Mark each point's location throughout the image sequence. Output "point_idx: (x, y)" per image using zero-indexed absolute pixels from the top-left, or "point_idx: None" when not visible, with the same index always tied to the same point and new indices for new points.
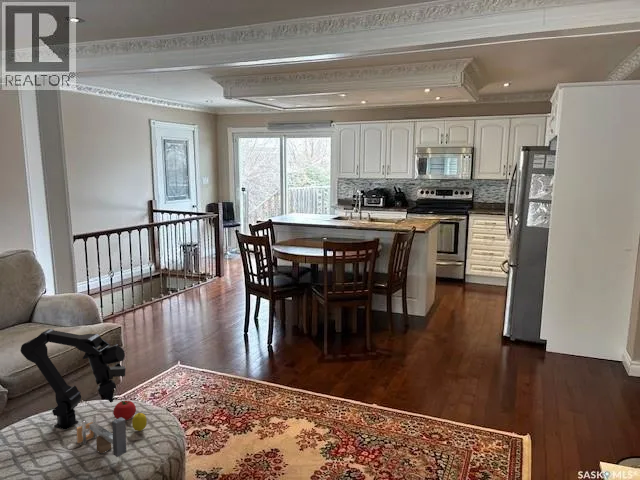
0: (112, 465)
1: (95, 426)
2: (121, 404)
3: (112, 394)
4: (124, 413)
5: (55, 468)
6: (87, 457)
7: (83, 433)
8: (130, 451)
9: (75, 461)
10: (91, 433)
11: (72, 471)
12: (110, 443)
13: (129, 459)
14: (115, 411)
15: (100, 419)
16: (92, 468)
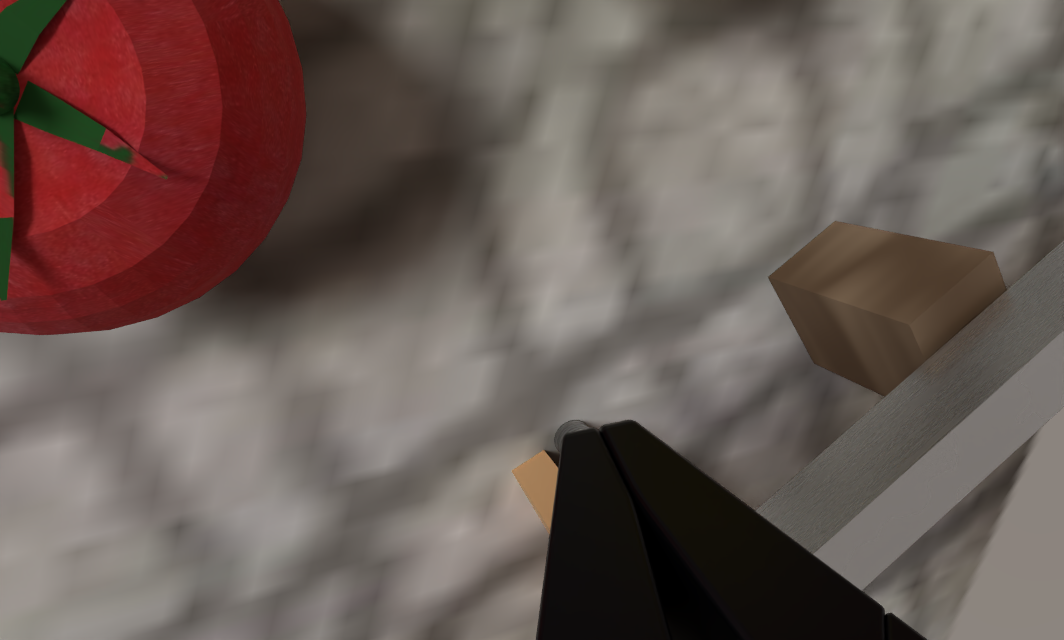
0: (1060, 179)
1: (919, 512)
2: (22, 168)
3: (867, 600)
4: (291, 83)
5: (904, 620)
6: None
7: None
8: (948, 3)
9: None
10: None
11: (988, 487)
12: (895, 239)
13: (1056, 16)
14: (199, 284)
15: (65, 491)
16: None
